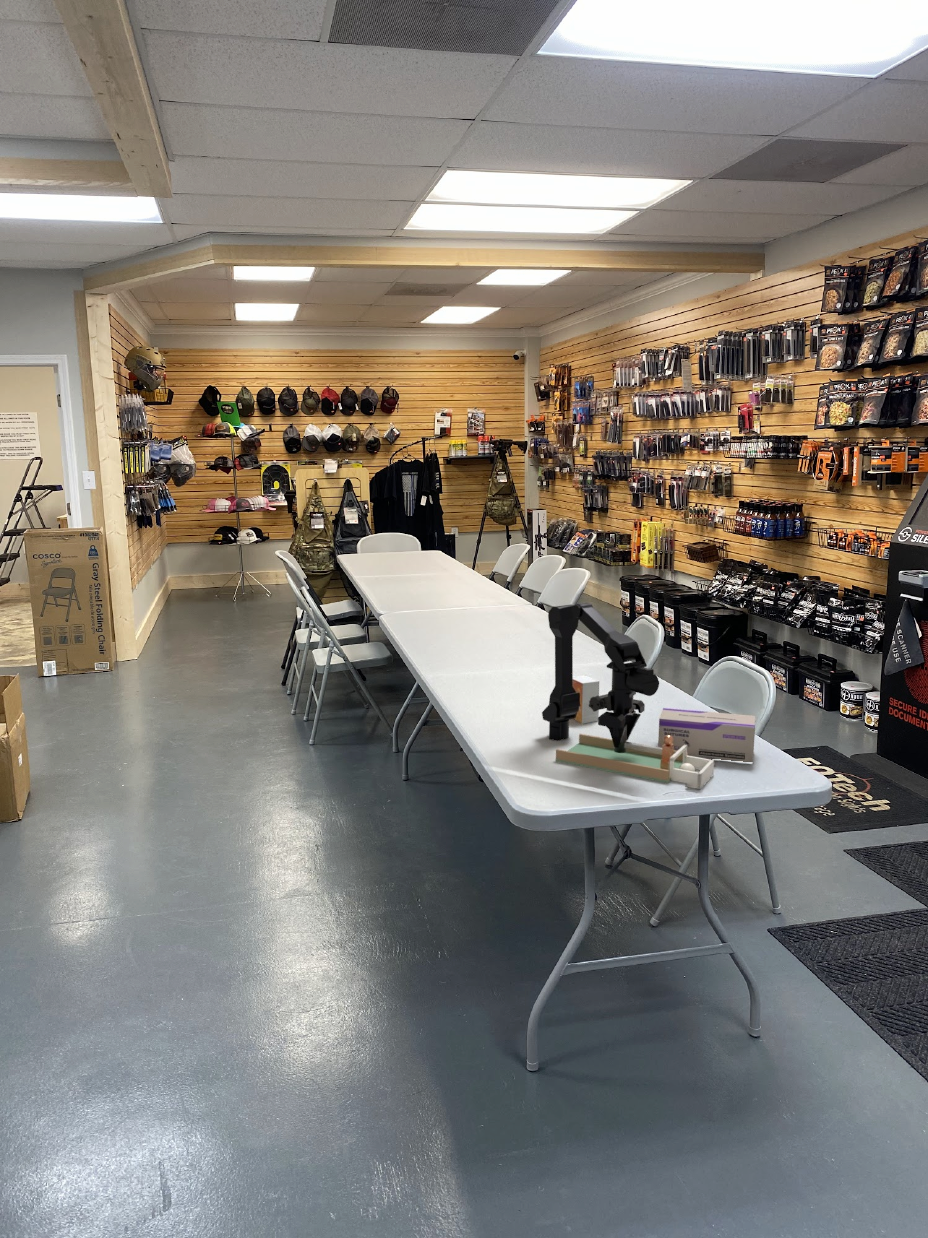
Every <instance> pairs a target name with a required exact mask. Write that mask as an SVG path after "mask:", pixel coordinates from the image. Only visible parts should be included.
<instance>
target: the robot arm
mask: <svg viewBox="0 0 928 1238" xmlns="http://www.w3.org/2000/svg"><path fill="white" fill-rule="evenodd" d="M547 618H548V619H547V620H548V627H549V629H550V631H551V632H552V635H553V636H554V665H555V666H554V684H555V685H554V687H553V689H552V691H551V693H550V694H549V702H548V705H547V706H546V707H545V708H544V710H543V711H542V712H541V716H542V720H544V721H546V722H548V723H549V724H548V725H549V727H548V729H549V731H548V735H549V737H548V738H549V740H551V741H563V740H568V739H569V737H570V720H574V719H575V718H576V715H577V712H578V710H579V706H581V705H580V693H579V692H576V691H575V689H574V687H573V677H574V676H573V675H574V674H573V672H574V671H573V666H574V665H573V663H574V662H573V654H574V653H573V649H574V648H573V647H574V646H573V645H574V644H573V643H574V642H573V641H574V640H573V637H574V636H575V633H576V631H577V629H578V628H579V621H580V622H581V623H582V624H583V625H584V626H585V627H586V628H587V629H588V630H589V631H590V632H591V633H592V634H593V635H594V636H595V637H596V638H597V639H598V640H599V642H601V643H602V645H603V648H604V653H605V654H606V655H607V657H608V658H609V660H610V662H609V663H607V664H606V668H607V669H610V670H611V690H609V691H608V693H607V694H602V695H599V696H595V697H594V696H593V697H591V698H590V701H589V707H591V709H593V712H595V711H597V710H599V711H600V710H604V709H606V711H605V712H604V713H602V714H601V715H599V717H598V721H597V726H600V727H601V726H602V727H606V728H607V729H608V731H609V734H610V736H611V739H612V741H613V744H614V747H616V748H618V747H619V745H620V743H621V740H622V737H623V735H624V732H625V730H626V727H627V741H628V740H629V738H630V736H631V734H632V732H633V730H634V729H635V726H636V724H637V722H638V721H639V719H640V717H641V714H642V713H644V712H645V707H646V705H645V704H646V703H644V701H643V700H640V699H634V696H635V695H636V694H641V695H644V696H648V697H651V696H653V695H655V694H656V693H657V692H658V689H659V686H660V681H659V678H658V676H657V675H656V673H655V674H654V672H655V670H654V668H650V667H649V668H647V663H646V659H645V658H644V656H643V653H642V651H641V649H640V645H639V643H638V642H637V641H636V640H635V639H633V638H632V637H630V636H629V635H627V634H625V633H621V632H619V631H618V630H617V629H615V628H614V627H613V626H612V625H611V624H610V622H608V621H607V620H606V619H605V618H604V617H603V616H602V615H601V614H600V613H599V612H598V611H597V610H596V609H595V608H594V606H593V604H591V603H589V602H581V603H576V604H564V605H556V606H552V607H551V608H550V609H549V610H548V613H547ZM637 711H638V712H637Z"/></svg>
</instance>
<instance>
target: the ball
mask: <svg viewBox="0 0 928 1238" xmlns="http://www.w3.org/2000/svg"><path fill="white" fill-rule="evenodd" d="M679 769H682V770H688V771H693V772H696V769H695V768H694V766H693V765H692V764H690V763H684V764H682V765H681V766H680V768H679Z"/></svg>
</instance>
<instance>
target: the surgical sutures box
mask: <svg viewBox="0 0 928 1238" xmlns="http://www.w3.org/2000/svg"><path fill="white" fill-rule="evenodd" d="M658 721H659V722H658V737H657V738H658V740H657V741H658V743H657V747H660V748H662V746H663V745H664V744H665V743H664V742H663V738H664V737H665V736H666V735H670V736H672V737H673V743H672V744H674V750H676V751H678V750H679V749H680V748H681V747H682V746H683V745H687V753H688V756H695V757H707V758H708V757H709V758H711V759H721V760H731V761H743V762H753V763H754V753H755V751H754V750H755V737H756V736H755V735H756V715H751V714H750V715H748V714H737V713H736V714H735V713H727V712H715V711H714V712H713V711H703V710H702V711H701V710H691V709H680V708H679V709H678V708H667V707H663V708H662V710H661V713H660V716H659V717H658Z"/></svg>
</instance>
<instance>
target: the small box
mask: <svg viewBox="0 0 928 1238" xmlns="http://www.w3.org/2000/svg"><path fill="white" fill-rule="evenodd" d="M573 687H574V689H575V691H576V692H579V693H580V705H581V706H579V710H578V712H577V715H576V718H575V719H573V720H575V721H577V722H578V723H579V724H588V723H594V722H595V723H596V722H598V717H599V716H600V715H599V713H600V712H599V711H600V710H597V711H595V712H593V709H591V707H589V701H590V698H591V697H593V696H594V697H595V696H600V680H598V679H595V678H594V677H591V676H588V675H587V674H585V675H583V674H582V675H577V676H573Z"/></svg>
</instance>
